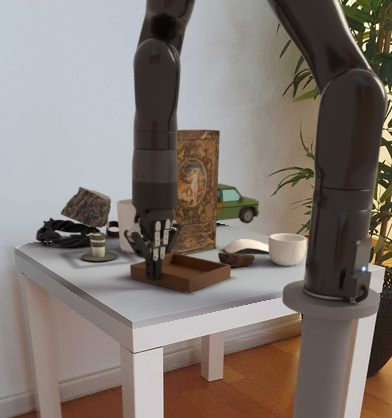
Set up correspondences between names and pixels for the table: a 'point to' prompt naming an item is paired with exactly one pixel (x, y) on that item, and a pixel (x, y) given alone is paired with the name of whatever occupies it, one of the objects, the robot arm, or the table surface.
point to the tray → (185, 272)
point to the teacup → (286, 248)
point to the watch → (111, 233)
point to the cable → (68, 226)
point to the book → (197, 190)
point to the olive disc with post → (98, 249)
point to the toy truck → (235, 205)
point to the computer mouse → (245, 245)
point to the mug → (125, 222)
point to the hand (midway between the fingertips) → (153, 279)
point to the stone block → (88, 208)
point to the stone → (236, 259)
